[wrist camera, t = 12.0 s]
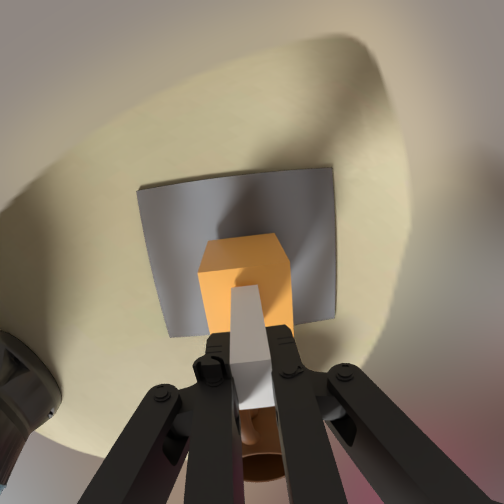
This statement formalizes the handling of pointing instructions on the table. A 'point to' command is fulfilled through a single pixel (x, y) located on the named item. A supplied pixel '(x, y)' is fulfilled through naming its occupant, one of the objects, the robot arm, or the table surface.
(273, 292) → the orange foam cube
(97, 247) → the table surface
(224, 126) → the table surface
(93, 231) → the table surface
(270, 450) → the mug
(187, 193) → the grey rubber mat
